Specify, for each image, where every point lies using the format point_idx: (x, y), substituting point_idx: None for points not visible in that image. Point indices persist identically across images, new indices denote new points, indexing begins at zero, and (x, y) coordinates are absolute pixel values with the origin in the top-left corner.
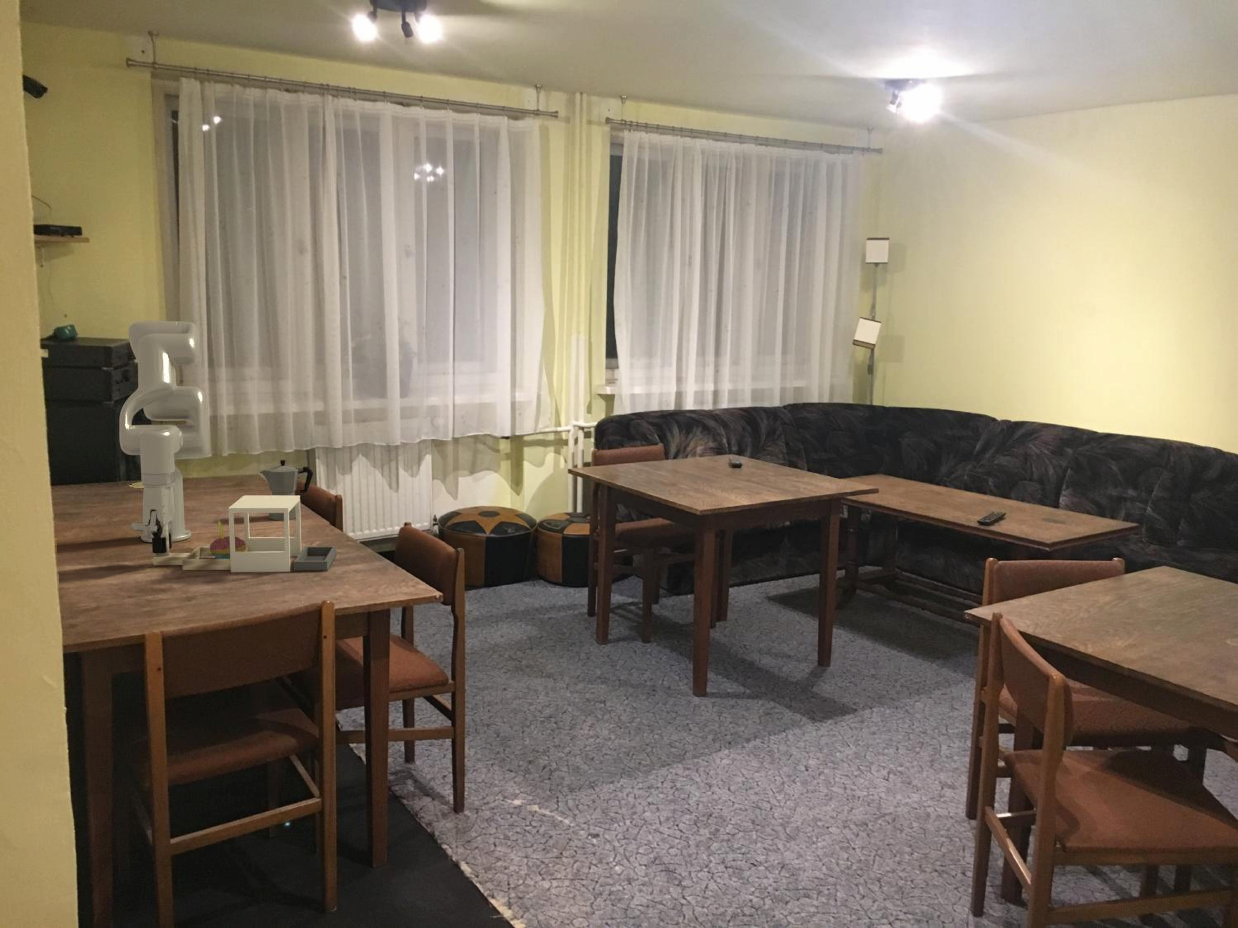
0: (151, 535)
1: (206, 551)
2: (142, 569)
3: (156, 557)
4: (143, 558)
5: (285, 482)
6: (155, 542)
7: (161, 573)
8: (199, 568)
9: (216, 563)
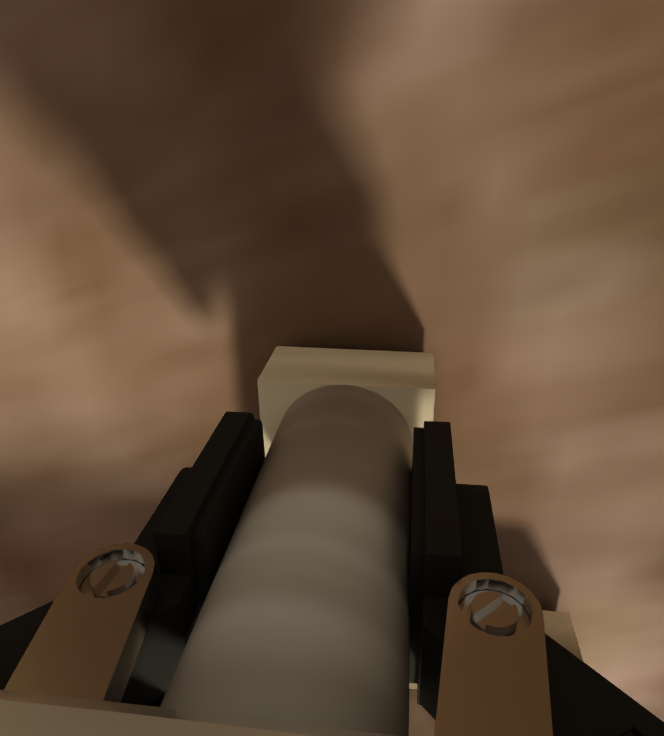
0: (65, 581)
1: None
2: (188, 269)
3: (259, 410)
4: (637, 135)
5: None
6: (147, 535)
7: (93, 445)
8: None
9: None
